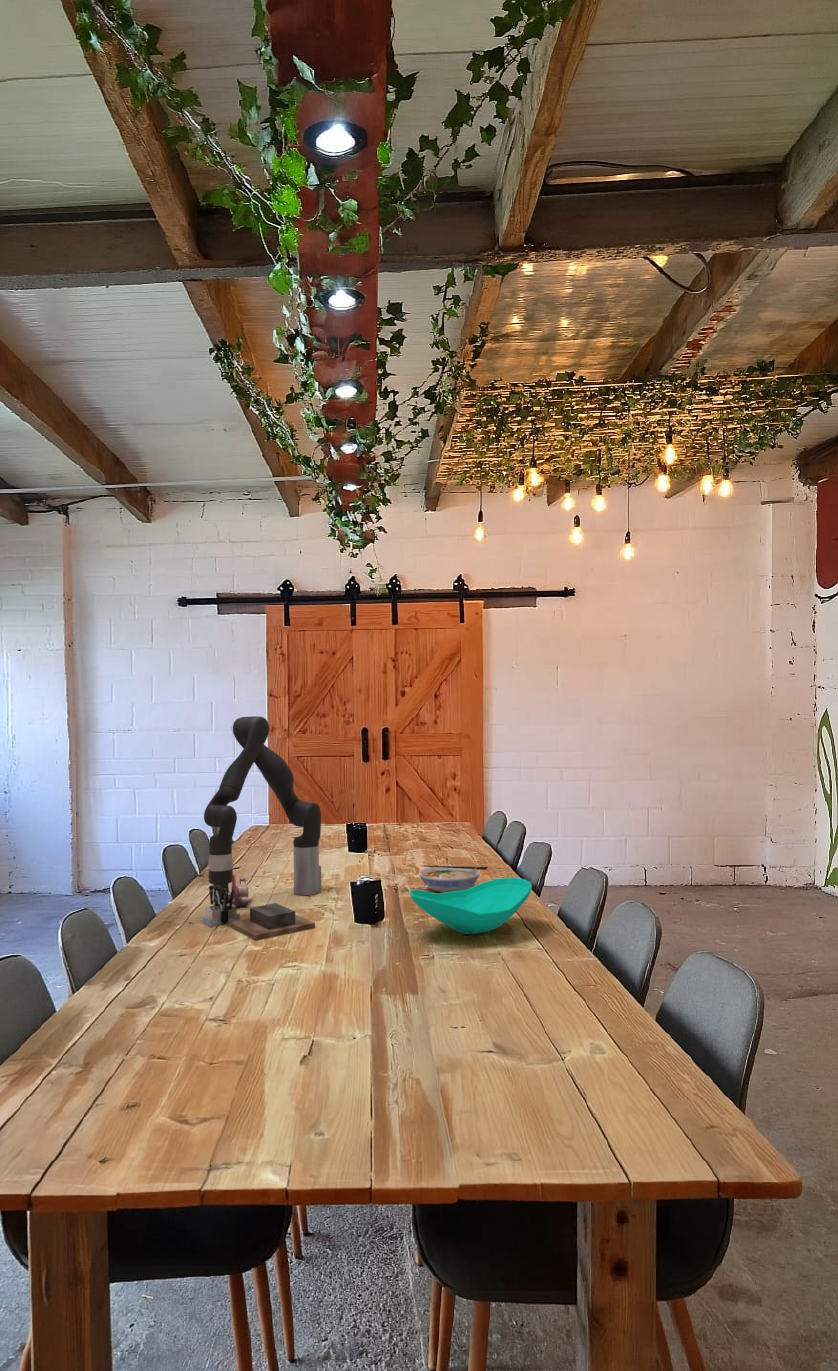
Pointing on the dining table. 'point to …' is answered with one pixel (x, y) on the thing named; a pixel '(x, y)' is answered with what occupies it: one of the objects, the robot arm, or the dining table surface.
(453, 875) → the ramen bowl
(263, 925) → the stand
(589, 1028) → the dining table surface
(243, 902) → the brake caliper
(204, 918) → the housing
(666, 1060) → the dining table surface
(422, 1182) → the dining table surface
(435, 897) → the table top decor
